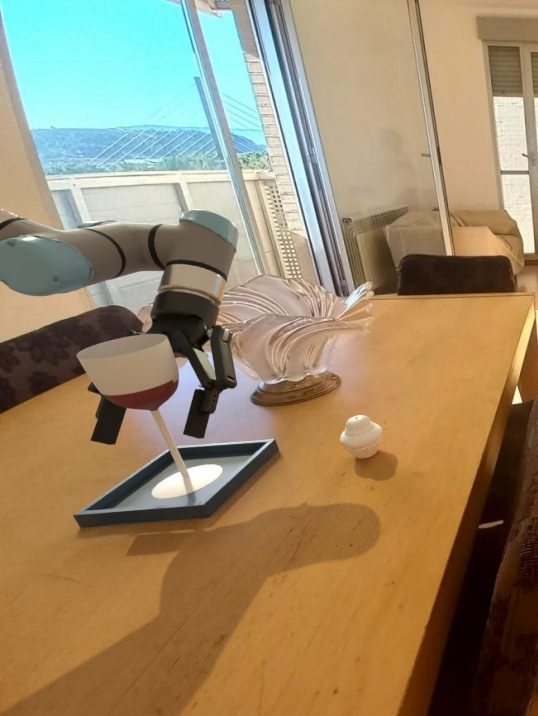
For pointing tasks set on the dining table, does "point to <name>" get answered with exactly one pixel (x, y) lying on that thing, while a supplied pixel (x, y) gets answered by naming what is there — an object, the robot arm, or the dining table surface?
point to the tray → (139, 505)
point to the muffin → (361, 437)
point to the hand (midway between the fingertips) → (148, 439)
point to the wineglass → (145, 395)
